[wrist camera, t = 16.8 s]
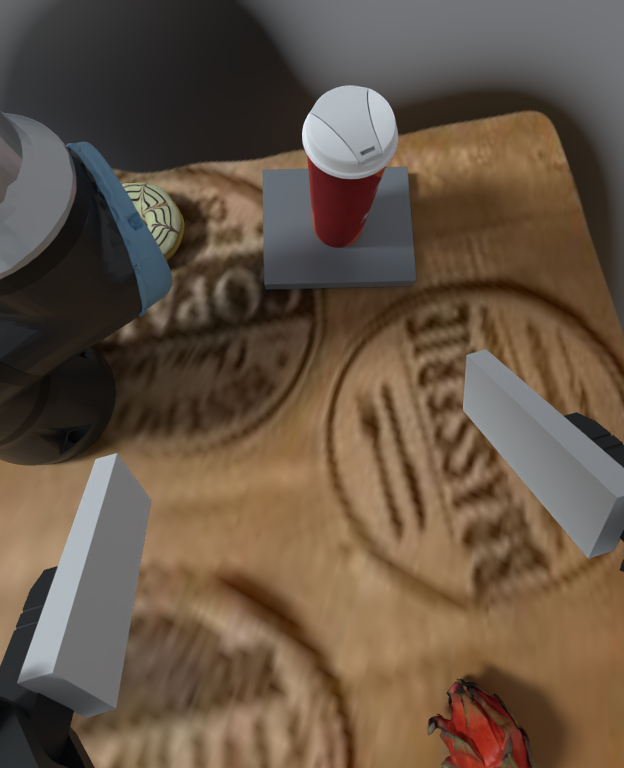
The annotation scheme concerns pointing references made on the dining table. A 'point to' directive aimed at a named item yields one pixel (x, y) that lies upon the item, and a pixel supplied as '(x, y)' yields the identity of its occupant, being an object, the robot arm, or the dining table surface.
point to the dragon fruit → (481, 731)
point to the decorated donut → (158, 215)
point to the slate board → (329, 264)
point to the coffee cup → (347, 159)
